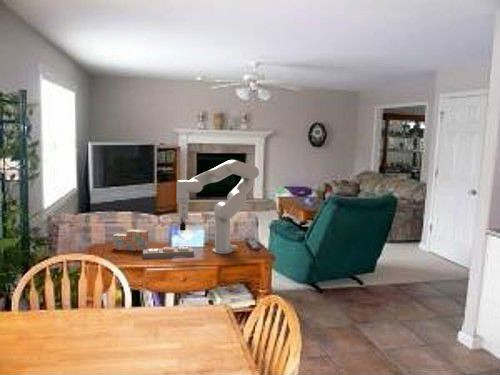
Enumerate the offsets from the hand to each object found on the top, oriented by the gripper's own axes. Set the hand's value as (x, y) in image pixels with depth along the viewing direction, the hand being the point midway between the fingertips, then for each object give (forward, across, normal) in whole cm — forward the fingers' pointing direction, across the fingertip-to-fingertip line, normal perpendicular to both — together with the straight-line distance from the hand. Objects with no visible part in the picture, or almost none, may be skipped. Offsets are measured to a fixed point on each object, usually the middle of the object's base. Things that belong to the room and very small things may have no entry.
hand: (182, 230), depth 270 cm
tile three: (+13, 0, +9) cm, 16 cm away
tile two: (+13, 0, 0) cm, 13 cm away
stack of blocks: (+16, +19, +31) cm, 40 cm away
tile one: (+14, 0, +18) cm, 23 cm away
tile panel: (+15, 0, +9) cm, 18 cm away
